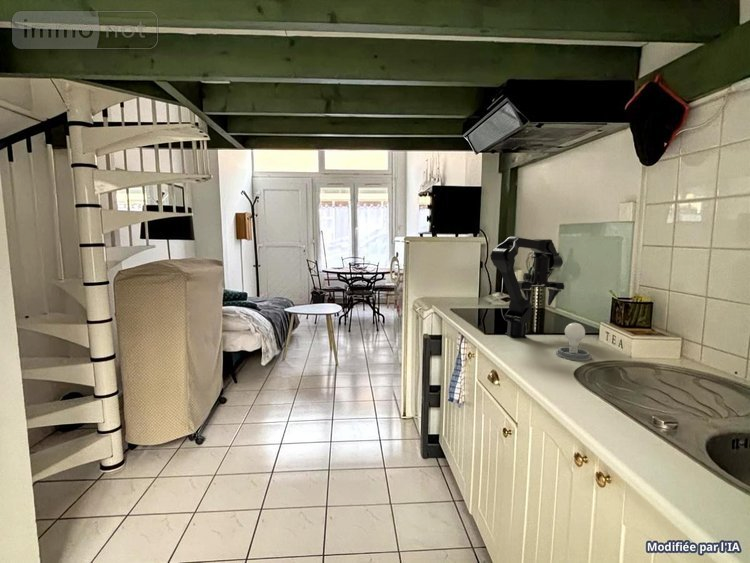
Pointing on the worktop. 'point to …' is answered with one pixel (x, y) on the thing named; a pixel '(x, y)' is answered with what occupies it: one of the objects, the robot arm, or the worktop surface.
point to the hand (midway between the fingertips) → (538, 305)
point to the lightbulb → (574, 336)
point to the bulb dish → (579, 356)
